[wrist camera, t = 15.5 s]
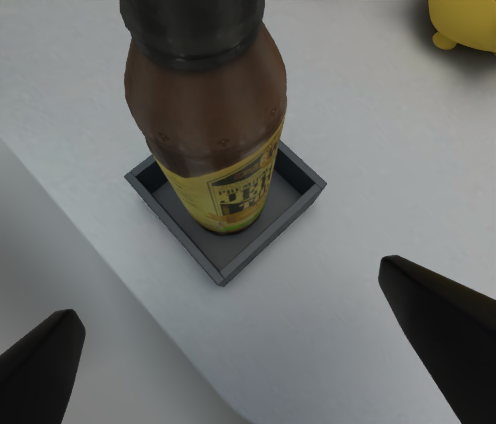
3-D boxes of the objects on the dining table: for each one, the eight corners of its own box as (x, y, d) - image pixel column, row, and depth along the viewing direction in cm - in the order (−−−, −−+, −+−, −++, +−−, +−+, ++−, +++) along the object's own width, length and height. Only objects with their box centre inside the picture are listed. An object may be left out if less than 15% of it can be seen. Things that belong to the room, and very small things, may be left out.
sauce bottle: (239, 252, 21) (167, -93, 2) (174, 212, 22) (-274, -278, 3) (280, 187, 23) (446, -349, 4) (217, 152, 24) (95, -422, 5)
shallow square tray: (223, 286, 21) (217, 285, 17) (144, 195, 23) (123, 176, 19) (314, 202, 23) (327, 183, 19) (233, 125, 25) (230, 94, 21)
